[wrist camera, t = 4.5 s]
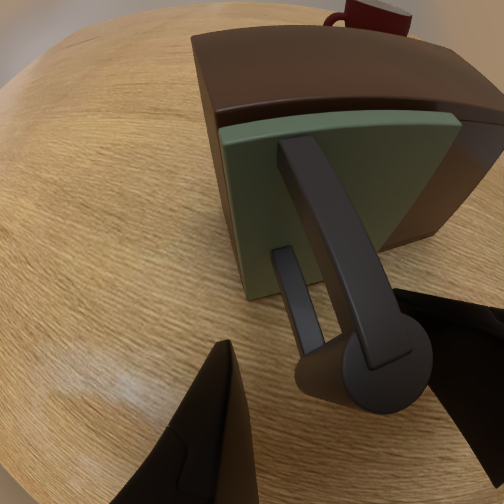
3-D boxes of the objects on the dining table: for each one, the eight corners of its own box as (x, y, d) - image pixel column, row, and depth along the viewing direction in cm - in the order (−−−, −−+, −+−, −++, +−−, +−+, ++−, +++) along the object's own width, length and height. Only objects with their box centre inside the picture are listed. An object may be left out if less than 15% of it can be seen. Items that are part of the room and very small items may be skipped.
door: (396, 353, 13) (556, 287, 3) (274, 398, 12) (312, 453, 3) (361, 258, 15) (451, 111, 6) (244, 290, 15) (216, 127, 5)
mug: (332, 77, 26) (343, 1, 17) (312, 51, 30) (317, -11, 21) (406, 85, 26) (425, 22, 17) (378, 58, 30) (390, 3, 21)
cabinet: (433, 235, 17) (525, 117, 6) (243, 290, 16) (213, 112, 5) (396, 171, 19) (450, 49, 9) (221, 205, 18) (190, 35, 8)
